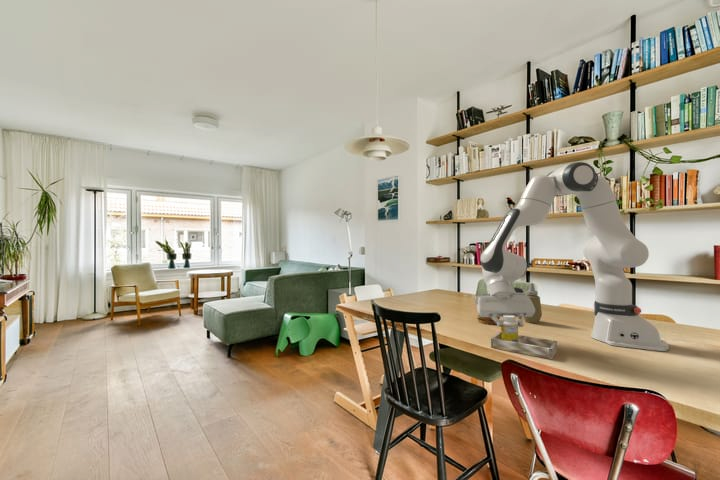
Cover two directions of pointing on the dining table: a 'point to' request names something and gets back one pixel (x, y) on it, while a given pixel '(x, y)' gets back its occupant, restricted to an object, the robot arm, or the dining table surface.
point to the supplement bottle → (509, 328)
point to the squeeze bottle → (537, 305)
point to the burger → (486, 320)
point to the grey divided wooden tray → (526, 345)
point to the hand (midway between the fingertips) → (510, 326)
